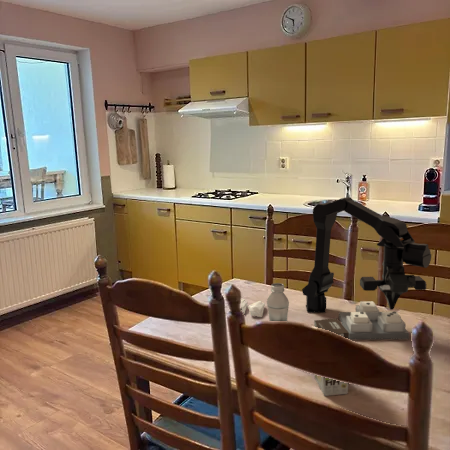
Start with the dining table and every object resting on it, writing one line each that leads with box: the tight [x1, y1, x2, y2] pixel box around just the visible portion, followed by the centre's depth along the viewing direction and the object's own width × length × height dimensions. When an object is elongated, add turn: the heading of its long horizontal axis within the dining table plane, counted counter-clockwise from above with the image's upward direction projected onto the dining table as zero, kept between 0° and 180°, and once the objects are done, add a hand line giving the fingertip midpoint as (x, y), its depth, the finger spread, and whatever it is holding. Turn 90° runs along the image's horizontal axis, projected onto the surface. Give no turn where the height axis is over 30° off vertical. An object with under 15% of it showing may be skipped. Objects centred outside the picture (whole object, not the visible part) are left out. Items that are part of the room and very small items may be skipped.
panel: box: [338, 304, 410, 340], centre depth 142 cm, size 18×17×4 cm
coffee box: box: [313, 318, 349, 397], centre depth 109 cm, size 9×6×16 cm
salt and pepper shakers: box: [240, 298, 266, 318], centre depth 160 cm, size 12×4×11 cm
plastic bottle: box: [266, 282, 290, 322], centre depth 129 cm, size 6×7×20 cm
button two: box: [350, 311, 368, 323], centre depth 138 cm, size 4×4×3 cm
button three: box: [381, 311, 402, 323], centre depth 137 cm, size 4×4×3 cm
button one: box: [359, 300, 378, 312], centre depth 146 cm, size 4×4×3 cm
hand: (391, 309), depth 137 cm, fingers closed
